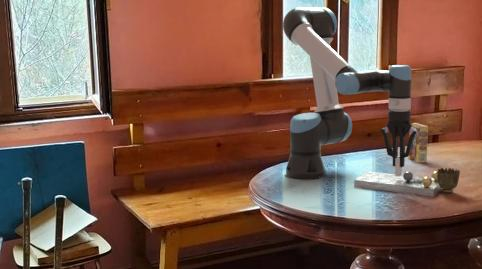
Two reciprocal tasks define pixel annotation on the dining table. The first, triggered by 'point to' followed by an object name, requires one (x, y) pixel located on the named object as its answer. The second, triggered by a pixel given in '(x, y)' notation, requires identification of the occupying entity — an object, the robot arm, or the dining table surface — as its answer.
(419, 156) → the candy box
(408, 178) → the steel ball
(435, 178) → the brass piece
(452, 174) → the olive brown rounded bowl
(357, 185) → the plate
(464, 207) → the dining table surface
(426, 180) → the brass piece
